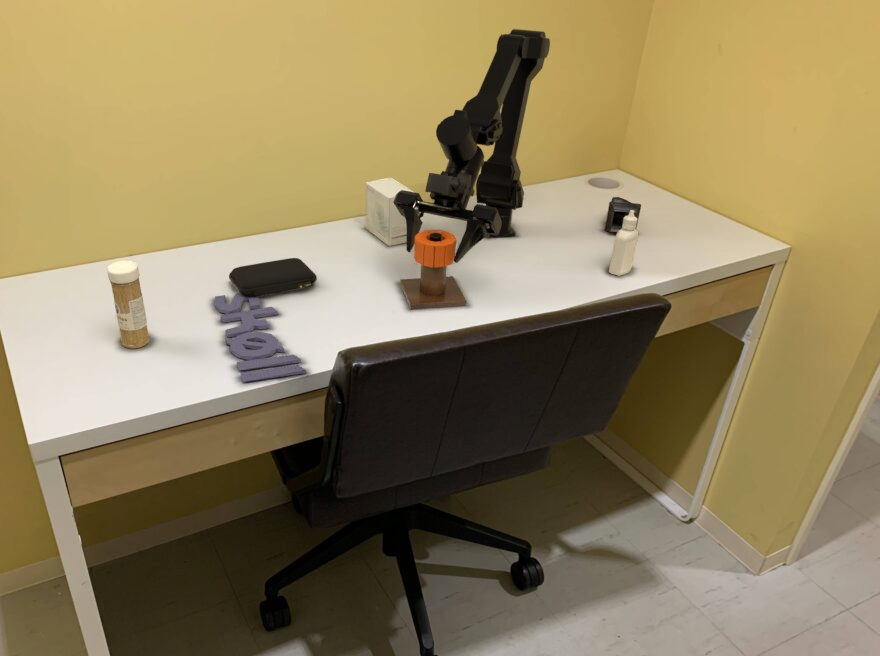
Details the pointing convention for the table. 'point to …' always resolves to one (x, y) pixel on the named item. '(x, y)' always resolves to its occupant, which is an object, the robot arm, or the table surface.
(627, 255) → the eye dropper bottle
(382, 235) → the cosmetics box
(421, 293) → the stand
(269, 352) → the signage
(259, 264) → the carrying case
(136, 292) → the sprinkles bottle
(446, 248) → the ring
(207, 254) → the table surface
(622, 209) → the dark grey hollow box
